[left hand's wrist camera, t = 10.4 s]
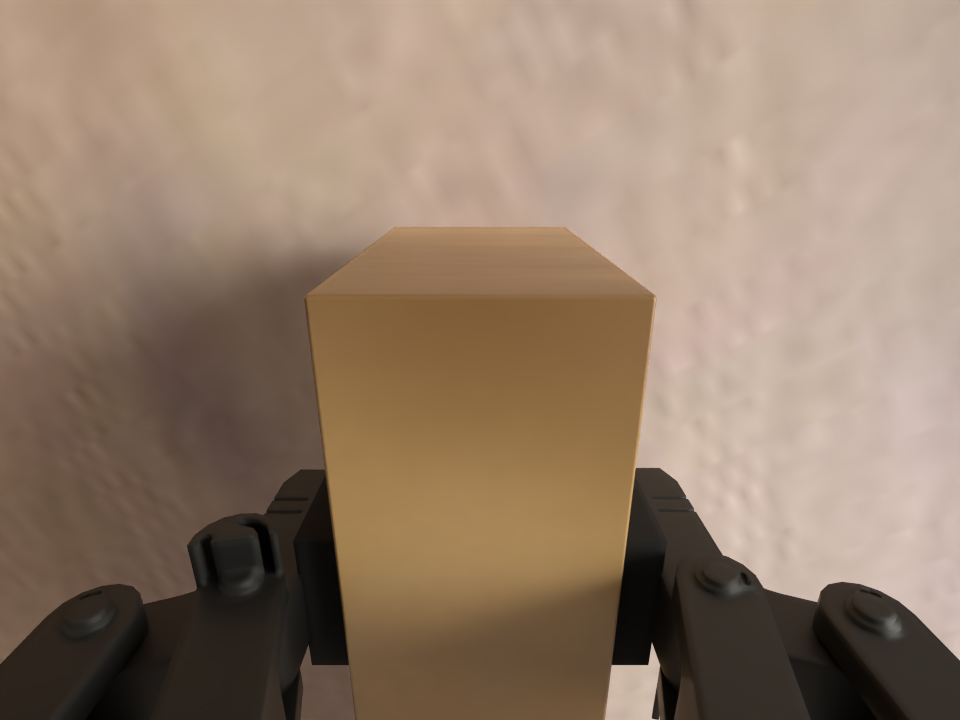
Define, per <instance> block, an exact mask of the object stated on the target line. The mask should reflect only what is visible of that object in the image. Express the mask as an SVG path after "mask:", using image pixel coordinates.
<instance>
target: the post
mask: <svg viewBox="0 0 960 720" xmlns="http://www.w3.org/2000/svg"><path fill="white" fill-rule="evenodd" d="M304 300H305V308H306V317H307V325H308V333H309V341H310V349H311V358H312V366H313V374H314V382H315V390H316V399H317V407H318V415H319V423H320V432H321V440H322V448H323V456H324V464H325V473H326V481H327V489H328V497H329V506H330V514H331V522H332V530H333V538H334V547H335V555H336V563H337V571H338V579H339V588H340V596H341V604H342V612H343V621H344V629H345V637H346V645H347V653H348V662H349V670H350V678H351V686H352V694H353V703H354V711H355V719H356V720H605V714H606V706H607V698H608V689H609V681H610V673H611V665H612V657H613V649H614V641H615V632H616V624H617V616H618V608H619V600H620V592H621V584H622V575H623V567H624V559H625V551H626V543H627V535H628V527H629V518H630V510H631V502H632V494H633V486H634V478H635V469H636V461H637V453H638V445H639V437H640V429H641V421H642V412H643V404H644V396H645V388H646V380H647V372H648V364H649V355H650V347H651V339H652V331H653V323H654V315H655V307H656V296H655V295H654V294H653V293H652V292H650V291H649V290H648V289H646V288H645V287H644V286H642V285H641V284H640V283H638V282H637V281H636V280H634V279H633V278H632V277H630V276H629V275H628V274H626V273H625V272H624V271H623V270H621V269H620V268H619V267H617V266H616V265H615V264H613V263H612V262H611V261H609V260H608V259H607V258H605V257H604V256H603V255H601V254H600V253H599V252H597V251H596V250H595V249H593V248H592V247H591V246H589V245H588V244H587V243H585V242H584V241H583V240H581V239H580V238H579V237H578V236H576V235H575V234H574V233H572V232H571V231H570V230H568V229H567V228H565V227H395V228H393V229H392V230H391V231H389V232H388V233H387V234H385V235H384V236H383V237H382V238H380V239H379V240H378V241H376V242H375V243H374V244H372V245H371V246H370V247H368V248H367V249H366V250H364V251H363V252H362V253H360V254H359V255H358V256H356V257H355V258H354V259H353V260H351V261H350V262H349V263H347V264H346V265H345V266H343V267H342V268H341V269H339V270H338V271H337V272H335V273H334V274H333V275H331V276H330V277H329V278H327V279H326V280H325V281H324V282H322V283H321V284H320V285H318V286H317V287H316V288H314V289H313V290H312V291H310V292H309V293H308V294H306V295H305V298H304Z"/></svg>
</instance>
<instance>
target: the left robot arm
mask: <svg viewBox="0 0 960 720" xmlns="http://www.w3.org/2000/svg"><path fill="white" fill-rule="evenodd" d="M187 548H188V552H189V556H190V560H191V564H192V568H193V572H194V576H195V580H196V584H197V590H196V591H194V592H191V593H187V594H184V595H181V596H177V597H173V598H168V599H164V600H160V601H156V602H152V603H147V604H143V601H142V598H141V594H140V593H139V592H138V591H137V590H136V589H135V588H134V587H133V586H127V585H122V584H115V585H107V586H101V587H98V588H95V589H92V590H89V591H86V592H83V593H81V594H79V595H77V596H75V597H74V598H72V599H70V600H68V601H66V602H65V603H63V604H61V605H60V606H59V607H58V608H57V609H55V610H54V611H53V612H52V613H51V614H49V615H48V616H47V617H46V618H45V619H44V620H43V621H42V622H41V623H40V624H39V625H38V626H37V627H36V628H35V629H34V630H33V631H32V632H31V633H30V634H29V635H28V636H27V637H26V638H25V640H24V641H23V642H22V643H21V644H20V645H19V646H18V647H17V648H16V649H15V650H14V651H13V652H12V653H11V654H10V655H9V656H8V657H7V658H6V659H5V660H4V661H3V662H2V663H1V664H0V720H300V716H301V705H302V694H303V684H302V677H301V671H300V666H301V664H302V661H303V658H304V655H305V652H306V650H307V647H308V644H309V648H310V655H311V661H312V665H349V662H348V653H347V645H346V637H345V629H344V621H343V612H342V604H341V596H340V588H339V579H338V571H337V563H336V555H335V547H334V538H333V530H332V522H331V514H330V506H329V497H328V489H327V481H326V473H325V470H300V471H299V472H297V473H296V474H295V475H293V476H292V477H291V478H289V479H288V480H287V481H285V482H284V483H283V485H282V486H281V488H280V490H279V491H278V493H277V495H276V496H275V499H274V501H272V503H271V504H270V506H269V508H268V509H267V513H266V514H264V515H260V514H257V513H253V514H238V515H234V516H229V517H225V518H222V519H220V520H218V521H216V522H214V523H211V524H209V525H207V526H206V527H205V528H203V529H202V530H201V531H199V532H198V533H197V534H195V536H194V537H193V538H192V540H191V541H190V543H189V544H188V545H187ZM652 643H653V646H654V649H655V652H656V654H657V657H658V660H659V663H660V671H659V677H658V683H657V689H656V695H655V701H654V707H653V713H652V719H657V720H659V715H660V720H960V660H959V659H958V658H957V657H956V656H955V655H954V654H953V653H952V652H951V651H950V650H949V649H948V648H947V647H946V646H945V645H944V644H943V643H942V642H941V641H940V640H939V639H938V638H937V637H936V636H935V635H934V634H933V633H932V632H931V631H930V630H929V629H928V628H927V627H926V626H925V625H924V624H923V623H922V622H921V620H920V619H919V618H918V617H917V616H916V615H915V614H913V613H912V612H911V611H910V610H908V609H907V608H906V607H905V606H904V605H902V604H901V603H900V602H899V601H897V600H895V599H893V598H891V597H890V596H888V595H886V594H884V593H882V592H881V591H878V590H875V589H872V588H869V587H867V586H864V585H861V584H854V583H846V582H839V583H834V584H828V585H827V586H826V587H825V588H824V589H823V590H822V591H821V592H820V596H819V599H818V602H814V601H809V600H805V599H801V598H797V597H792V596H788V595H784V594H780V593H776V592H773V591H770V590H767V589H764V588H763V586H762V585H761V583H760V582H759V580H758V578H757V577H756V575H755V574H753V573H752V572H751V571H750V570H749V569H748V568H746V567H745V566H744V565H743V564H741V563H739V562H737V561H735V560H733V559H731V558H729V557H726V556H723V555H722V553H721V552H720V550H719V549H718V547H717V545H716V544H715V542H714V540H713V539H712V537H711V536H710V534H709V532H708V531H707V529H706V528H705V526H704V524H703V523H702V521H701V519H700V518H699V516H698V515H697V513H696V512H694V508H693V507H692V505H691V503H690V502H689V500H688V499H686V495H685V494H684V492H683V490H682V489H681V487H680V485H679V484H678V482H677V481H676V480H675V479H673V478H672V477H671V476H669V475H668V474H667V473H665V472H664V471H663V470H661V469H660V468H636V469H635V478H634V486H633V494H632V502H631V510H630V518H629V527H628V535H627V543H626V551H625V559H624V567H623V575H622V584H621V592H620V600H619V608H618V616H617V624H616V632H615V641H614V649H613V657H612V665H648V663H649V657H650V650H651V644H652Z"/></svg>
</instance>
